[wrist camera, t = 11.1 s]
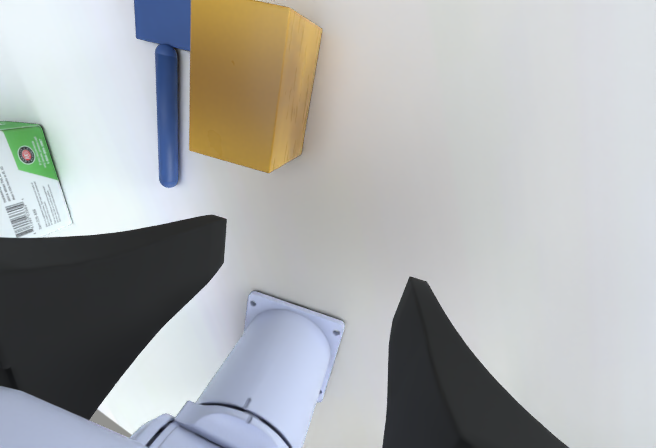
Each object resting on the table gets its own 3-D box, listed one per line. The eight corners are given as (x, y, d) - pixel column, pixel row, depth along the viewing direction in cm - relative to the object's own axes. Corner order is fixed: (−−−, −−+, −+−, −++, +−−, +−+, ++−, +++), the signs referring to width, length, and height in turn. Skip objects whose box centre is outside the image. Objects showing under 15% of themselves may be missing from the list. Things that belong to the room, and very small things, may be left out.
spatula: (201, 192, 23) (190, 197, 22) (148, 176, 24) (136, 181, 22) (208, -64, 17) (194, -75, 16) (136, -77, 17) (117, -88, 16)
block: (301, 154, 20) (269, 173, 16) (237, 137, 21) (188, 150, 16) (322, 28, 17) (290, 7, 12) (246, 12, 18) (190, -14, 13)
